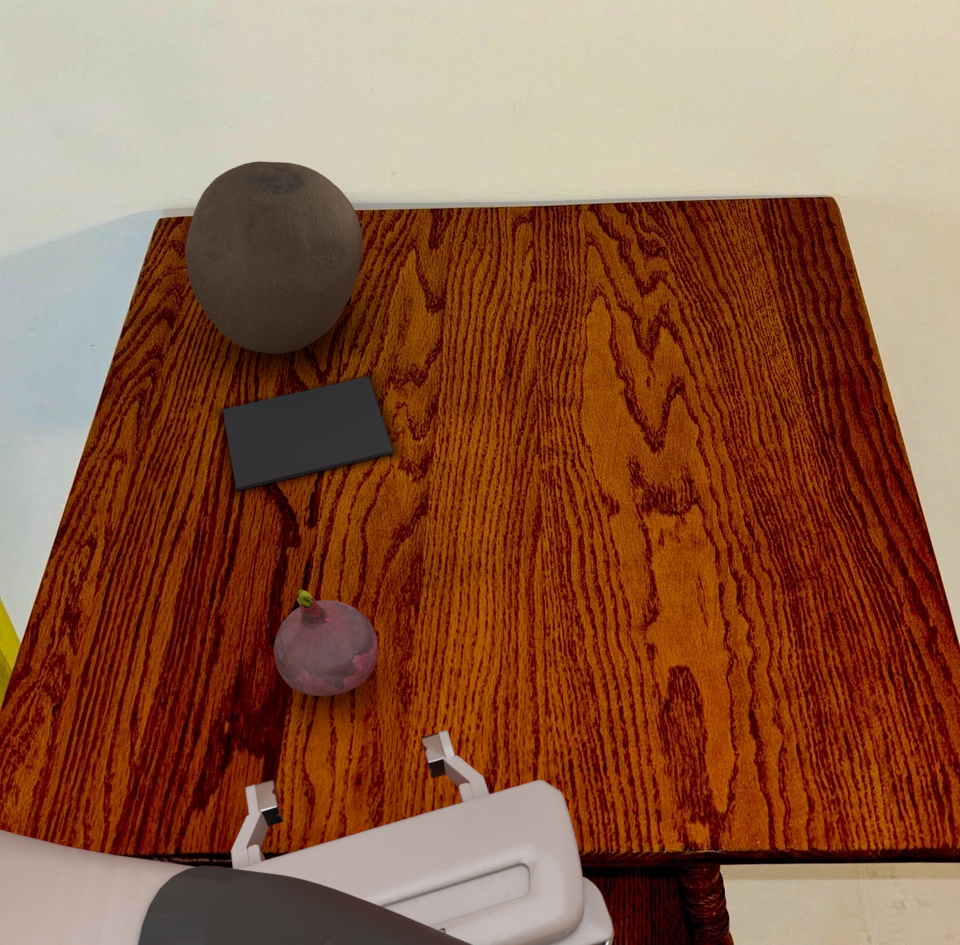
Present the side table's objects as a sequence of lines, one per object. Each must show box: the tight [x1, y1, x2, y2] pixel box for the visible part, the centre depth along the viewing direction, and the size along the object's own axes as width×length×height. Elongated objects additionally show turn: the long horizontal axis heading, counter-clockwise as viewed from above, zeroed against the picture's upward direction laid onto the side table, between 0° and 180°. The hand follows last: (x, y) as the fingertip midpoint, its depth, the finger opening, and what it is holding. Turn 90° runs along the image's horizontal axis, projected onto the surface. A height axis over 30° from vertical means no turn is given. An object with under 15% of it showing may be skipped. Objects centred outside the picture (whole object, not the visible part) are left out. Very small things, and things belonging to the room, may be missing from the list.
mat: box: [222, 376, 394, 492], centre depth 81 cm, size 12×9×1 cm
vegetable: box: [273, 589, 379, 697], centre depth 62 cm, size 6×6×10 cm
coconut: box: [184, 160, 364, 355], centre depth 85 cm, size 14×14×15 cm
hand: (349, 762), depth 55 cm, fingers open, 8 cm apart
